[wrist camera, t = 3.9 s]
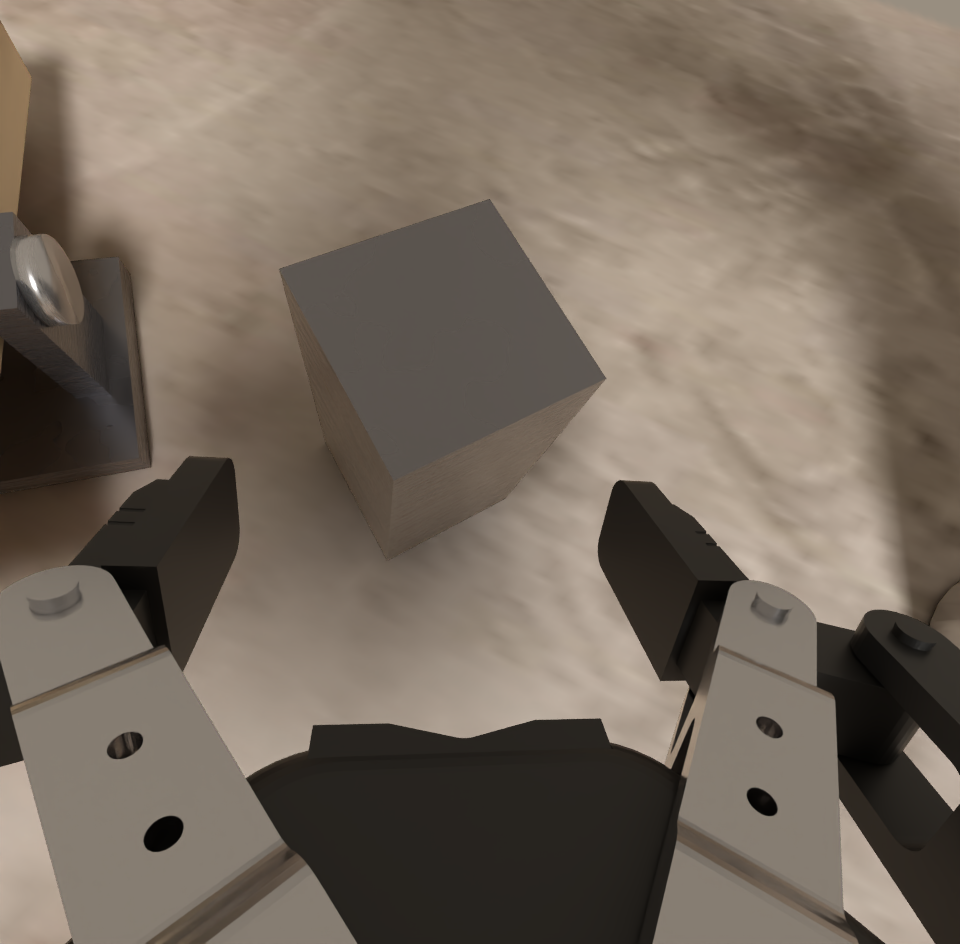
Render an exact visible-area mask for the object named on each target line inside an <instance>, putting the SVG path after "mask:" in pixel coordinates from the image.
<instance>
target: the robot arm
mask: <svg viewBox="0 0 960 944" xmlns="http://www.w3.org/2000/svg"><path fill="white" fill-rule="evenodd" d="M239 533H240V527H239V514H238V503H237V491H236V480H235V469H234V464H233V462H232V460H231V459H230V458H214V457H195V456H189V457H187V458H186V460H185V461H184V462H183V463H182V465H181V466H180V467H179V468H178V470H177V471H176V472H175V473H174V474H173V476H172V477H171V478H170V479H169V480H161V479H157V480H155V481H153V482H151V483H150V484H148V485H146V486H144V487H142V488H140V489H139V490H137V491H135V492H133V493H132V494H131V496H130V497H129V498H128V499H127V500H126V501H125V502H124V503H123V505H122V506H121V507H120V510H119V511H116V512H115V514H114V515H113V516H112V517H111V518H110V519H109V520H108V524H107V525H104V526H103V527H102V528H101V529H100V531H99V532H98V533H97V534H96V535H95V536H94V537H93V538H92V540H91V541H90V542H89V543H88V544H87V545H86V546H85V547H84V549H83V550H82V551H81V552H80V553H79V554H78V555H77V556H76V558H75V559H74V560H73V561H72V562H71V563H70V564H69V566H63V567H57V568H52V569H48V570H44V571H41V572H38V573H35V574H32V575H30V576H27V577H25V578H23V579H21V580H19V581H17V582H15V583H13V584H12V585H10V586H8V587H7V588H5V589H4V590H3V591H2V592H1V593H0V767H1V766H5V765H9V764H12V763H16V762H19V761H23V760H24V762H25V766H26V770H27V773H28V777H29V781H30V785H31V788H32V792H33V796H34V799H35V803H36V807H37V810H38V814H39V818H40V821H41V825H42V829H43V833H44V836H45V840H46V844H47V847H48V851H49V855H50V858H51V862H52V866H53V869H54V873H55V877H56V881H57V884H58V888H59V892H60V895H61V899H62V903H63V906H64V910H65V914H66V917H67V921H68V925H69V929H70V932H71V936H72V938H71V939H70V940H69V941H68V942H67V943H66V944H885V943H884V942H883V941H881V940H880V939H879V938H878V937H877V936H875V935H874V934H873V933H872V932H870V931H869V930H868V929H867V928H866V927H864V926H863V925H862V924H861V923H859V922H858V921H857V920H856V919H855V918H853V917H852V916H851V915H850V914H849V913H847V912H846V911H845V910H844V908H843V888H842V863H841V837H840V811H839V799H840V800H841V802H842V803H843V805H844V806H845V808H846V809H847V811H848V812H849V814H850V815H851V817H852V818H853V820H854V821H855V823H856V824H857V826H858V827H859V829H860V830H861V832H862V833H863V835H864V836H865V838H866V839H867V841H868V842H869V844H870V845H871V847H872V849H873V850H874V852H875V853H876V855H877V856H878V858H879V859H880V861H881V862H882V864H883V865H884V867H885V868H886V870H887V871H888V873H889V874H890V876H891V877H892V879H893V880H894V882H895V883H896V885H897V886H898V888H899V889H900V891H901V892H902V894H903V896H904V897H905V899H906V900H907V902H908V903H909V905H910V906H911V908H912V909H913V911H914V912H915V914H916V915H917V917H918V918H919V920H920V921H921V923H922V924H923V926H924V927H925V929H926V930H927V932H928V933H929V935H930V936H931V938H932V939H933V941H934V943H935V944H960V805H959V806H958V807H957V808H956V809H955V810H954V812H953V811H952V809H951V808H950V807H949V806H948V805H947V803H946V802H945V801H944V800H943V799H942V797H941V796H940V795H939V794H938V792H937V791H936V790H935V789H934V788H933V786H932V785H931V784H930V783H929V782H928V780H927V779H926V778H925V777H924V776H923V774H922V773H921V772H920V771H919V770H918V768H917V767H916V766H915V765H914V764H913V762H912V761H911V760H910V759H909V758H908V756H907V755H906V754H905V753H904V752H903V750H904V748H905V747H906V746H907V744H908V743H909V741H910V740H911V738H912V737H913V736H914V734H915V733H916V731H917V730H918V729H919V727H920V728H921V729H922V730H923V731H924V732H925V733H926V734H927V735H928V737H929V738H930V739H931V740H932V741H933V742H934V743H935V744H936V745H937V747H938V748H939V749H940V750H941V751H942V752H943V753H944V754H945V755H946V757H947V758H948V759H949V760H950V761H951V762H952V764H953V765H954V766H955V768H956V769H957V771H958V773H959V775H960V582H959V583H957V584H956V585H954V586H953V587H951V588H950V589H949V591H948V592H947V593H946V594H945V595H944V597H943V598H942V599H941V600H940V602H939V603H938V605H937V608H936V610H935V612H934V615H933V617H932V619H931V622H930V626H928V625H926V624H924V623H922V622H920V621H918V620H916V619H914V618H912V617H909V616H906V615H904V614H900V613H897V612H893V611H888V610H872V611H869V612H867V613H866V614H865V615H864V617H863V619H862V620H861V622H860V624H859V626H858V627H857V629H856V631H853V630H849V629H845V628H840V627H836V626H832V625H828V624H823V623H819V622H816V618H815V616H814V614H813V612H812V611H811V610H810V608H809V607H808V606H807V605H806V604H805V603H803V602H802V601H801V600H800V599H798V598H797V597H796V596H794V595H792V594H791V593H789V592H787V591H785V590H783V589H781V588H779V587H776V586H774V585H771V584H768V583H764V582H760V581H754V580H749V579H748V578H747V577H746V576H745V575H744V574H743V573H742V571H741V570H740V569H739V568H738V567H737V566H736V565H735V563H734V562H733V561H732V560H731V559H730V558H729V557H728V556H727V554H726V553H725V552H724V551H723V550H722V549H721V548H720V547H719V546H717V543H716V542H715V541H714V540H713V539H712V537H711V536H710V535H709V534H706V531H705V530H704V528H703V527H702V526H701V525H700V524H699V523H698V522H697V521H696V519H695V518H694V517H692V516H691V515H689V514H688V513H686V512H685V511H683V510H682V509H680V508H679V507H677V506H676V505H674V504H671V502H670V501H669V500H668V499H667V498H666V497H665V495H664V494H663V493H662V492H661V491H660V490H659V488H658V487H657V486H656V485H655V484H654V483H653V482H643V481H624V480H619V481H617V482H616V483H615V485H614V487H613V489H612V492H611V496H610V499H609V503H608V507H607V511H606V515H605V518H604V522H603V526H602V530H601V533H600V537H599V542H598V558H599V563H600V566H601V568H602V570H603V572H604V574H605V576H606V578H607V580H608V582H609V584H610V586H611V587H612V589H613V591H614V593H615V595H616V597H617V599H618V601H619V603H620V605H621V607H622V609H623V610H624V612H625V614H626V616H627V618H628V620H629V622H630V624H631V626H632V628H633V630H634V631H635V633H636V635H637V637H638V639H639V641H640V643H641V645H642V647H643V649H644V651H645V652H646V654H647V656H648V658H649V660H650V662H651V664H652V666H653V668H654V670H655V672H656V674H657V675H658V677H659V679H660V681H686V682H687V683H688V685H689V688H688V690H687V693H686V695H685V698H684V700H683V703H682V707H681V710H680V714H679V717H678V720H677V724H676V727H675V731H674V734H673V737H672V741H671V744H670V747H669V751H668V754H667V758H666V761H665V764H662V763H660V762H658V761H656V760H655V759H653V758H651V757H649V756H647V755H645V754H642V753H640V752H638V751H635V750H633V749H630V748H627V747H624V746H621V745H618V744H614V743H610V742H609V740H608V737H607V734H606V732H605V729H604V726H603V724H602V721H601V719H561V720H533V721H530V722H526V723H522V724H519V725H515V726H512V727H508V728H504V729H501V730H497V731H494V732H490V733H486V734H483V735H479V736H476V737H472V738H456V737H451V736H446V735H442V734H437V733H432V732H427V731H422V730H417V729H413V728H408V727H403V726H398V725H393V724H348V725H313V729H312V735H311V741H310V747H309V750H308V751H305V752H301V753H298V754H294V755H292V756H289V757H287V758H284V759H281V760H279V761H276V762H274V763H272V764H270V765H268V766H266V767H264V768H262V769H260V770H258V771H256V772H255V773H253V774H252V775H250V776H249V777H247V778H245V776H244V775H243V773H242V771H241V770H240V768H239V766H238V765H237V763H236V761H235V760H234V758H233V756H232V755H231V753H230V751H229V750H228V748H227V746H226V745H225V743H224V741H223V740H222V738H221V736H220V735H219V733H218V731H217V729H216V728H215V726H214V724H213V723H212V721H211V719H210V718H209V716H208V714H207V713H206V711H205V709H204V708H203V706H202V704H201V703H200V701H199V699H198V698H197V696H196V694H195V693H194V691H193V689H192V688H191V686H190V684H189V682H188V681H187V679H186V677H185V676H184V674H183V671H184V668H185V666H186V664H187V662H188V660H189V657H190V655H191V653H192V651H193V649H194V646H195V644H196V642H197V640H198V638H199V635H200V633H201V631H202V629H203V627H204V624H205V622H206V620H207V618H208V616H209V613H210V611H211V609H212V607H213V605H214V602H215V600H216V598H217V596H218V594H219V591H220V589H221V587H222V585H223V583H224V580H225V578H226V576H227V574H228V572H229V569H230V567H231V565H232V563H233V561H234V558H235V556H236V553H237V549H238V543H239Z"/></svg>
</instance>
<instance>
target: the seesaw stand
mask: <svg viewBox="0 0 960 944" xmlns="http://www.w3.org/2000/svg"><path fill="white" fill-rule="evenodd" d="M0 337H1V338H2V339H4V343H3V353H2V362H1V372H0V494H2V493H8V492H13V491H19V490H25V489H31V488H36V487H42V486H48V485H53V484H59V483H65V482H70V481H76V480H82V479H87V478H93V477H99V476H105V475H110V474H116V473H122V472H127V471H133V470H139V469H144V468H150V467H151V464H150V455H149V446H148V436H147V427H146V418H145V408H144V399H143V390H142V380H141V371H140V362H139V352H138V343H137V334H136V325H135V315H134V306H133V297H132V287H131V278H130V273H129V272H128V270H127V269H126V267H125V266H124V264H123V263H122V261H121V260H120V258H119V257H110V258H100V259H89V260H78V261H70V260H69V258H68V257H67V255H66V253H65V252H64V250H63V249H62V247H61V246H60V245H59V244H58V242H57V241H56V240H55V239H54V238H52V237H51V236H50V235H48V234H35V235H32V234H31V233H30V231H29V230H28V229H27V228H26V227H25V226H24V224H23V223H22V222H21V221H20V220H19V218H18V217H17V216H16V215H15V214H14V213H13V212H4V213H0Z"/></svg>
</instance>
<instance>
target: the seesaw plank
mask: <svg viewBox="0 0 960 944" xmlns="http://www.w3.org/2000/svg"><path fill="white" fill-rule="evenodd" d="M31 80H32V77H31V75H30V74H29V72H28V70H27V68H26V66H25V65H24V63H23V61H22V59H21V57H20V55H19V54H18V52H17V50H16V48H15V46H14V44H13V43H12V41H11V39H10V37H9V35H8V33H7V32H6V30H5V28H4V26H3V24H2V23H1V21H0V213H4V212H13V213H14V214H15V215H16V216H17V212H18V202H19V193H20V183H21V174H22V165H23V155H24V146H25V136H26V127H27V118H28V108H29V99H30V89H31ZM3 343H4V339H2V338H1V337H0V372H1V362H2V353H3Z"/></svg>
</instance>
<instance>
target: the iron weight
mask: <svg viewBox="0 0 960 944" xmlns="http://www.w3.org/2000/svg"><path fill="white" fill-rule="evenodd" d="M279 270H280V274H281V278H282V282H283V285H284V289H285V293H286V296H287V300H288V304H289V308H290V311H291V315H292V319H293V323H294V326H295V330H296V334H297V338H298V341H299V345H300V349H301V352H302V356H303V360H304V364H305V367H306V371H307V375H308V379H309V382H310V386H311V390H312V393H313V397H314V401H315V405H316V408H317V412H318V416H319V420H320V423H321V427H322V431H323V434H324V438H325V442H326V444H327V446H328V448H329V450H330V452H331V454H332V456H333V458H334V460H335V462H336V464H337V465H338V467H339V469H340V471H341V473H342V475H343V477H344V479H345V481H346V483H347V485H348V487H349V488H350V490H351V492H352V494H353V496H354V498H355V500H356V502H357V504H358V506H359V508H360V510H361V512H362V513H363V515H364V517H365V519H366V521H367V523H368V525H369V527H370V529H371V531H372V533H373V535H374V536H375V538H376V540H377V542H378V544H379V546H380V548H381V550H382V552H383V554H384V556H385V558H386V559H387V561H388V560H390V559H392V558H394V557H395V556H397V555H399V554H401V553H403V552H405V551H407V550H409V549H411V548H413V547H414V546H416V545H418V544H420V543H422V542H424V541H426V540H428V539H430V538H431V537H433V536H435V535H437V534H439V533H441V532H443V531H445V530H447V529H449V528H450V527H452V526H454V525H456V524H458V523H460V522H462V521H464V520H466V519H468V518H469V517H471V516H473V515H475V514H477V513H479V512H481V511H483V510H485V509H487V508H488V507H490V506H492V505H494V504H496V503H498V502H500V501H502V500H504V499H505V498H506V497H507V496H508V495H509V493H510V492H511V491H512V490H513V489H514V487H515V486H516V485H517V484H518V483H519V482H520V480H521V479H522V478H523V477H524V476H525V474H526V473H527V472H528V471H529V470H530V468H531V467H532V466H533V465H534V464H535V463H536V461H537V460H538V459H539V458H540V457H541V455H542V454H543V453H544V452H545V451H546V449H547V448H548V447H549V446H550V445H551V444H552V442H553V441H554V440H555V439H556V438H557V436H558V435H559V434H560V433H561V432H562V430H563V429H564V428H565V427H566V426H567V425H568V423H569V422H570V421H571V420H572V419H573V417H574V416H575V415H576V414H577V413H578V411H579V410H580V409H581V408H582V407H583V406H584V404H585V403H586V402H587V401H588V400H589V398H590V397H591V396H592V395H593V394H594V392H595V391H596V390H597V389H598V388H599V387H600V385H601V384H602V383H603V382H604V381H605V379H606V377H605V376H604V374H603V373H602V371H601V370H600V368H599V367H598V365H597V364H596V362H595V360H594V359H593V357H592V356H591V354H590V353H589V351H588V350H587V348H586V347H585V345H584V344H583V342H582V340H581V339H580V337H579V336H578V334H577V333H576V331H575V330H574V328H573V327H572V325H571V323H570V322H569V320H568V319H567V317H566V316H565V314H564V313H563V311H562V310H561V308H560V307H559V305H558V303H557V302H556V300H555V299H554V297H553V296H552V294H551V293H550V291H549V290H548V288H547V287H546V285H545V283H544V282H543V280H542V279H541V277H540V276H539V274H538V273H537V271H536V270H535V268H534V267H533V265H532V263H531V262H530V260H529V259H528V257H527V256H526V254H525V253H524V251H523V250H522V248H521V247H520V245H519V243H518V242H517V240H516V239H515V237H514V236H513V234H512V233H511V231H510V230H509V228H508V227H507V225H506V223H505V222H504V220H503V219H502V217H501V216H500V214H499V213H498V211H497V210H496V208H495V207H494V205H493V203H492V202H491V200H490V199H488V200H485V201H482V202H479V203H476V204H473V205H470V206H467V207H464V208H461V209H458V210H455V211H452V212H449V213H446V214H443V215H440V216H437V217H434V218H431V219H428V220H425V221H422V222H419V223H416V224H413V225H410V226H407V227H404V228H401V229H398V230H395V231H392V232H389V233H386V234H383V235H380V236H377V237H374V238H371V239H368V240H365V241H362V242H359V243H356V244H353V245H350V246H347V247H344V248H341V249H338V250H335V251H332V252H329V253H326V254H323V255H320V256H317V257H314V258H311V259H308V260H305V261H302V262H299V263H296V264H293V265H289V266H286V267H283V268H280V269H279Z"/></svg>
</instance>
